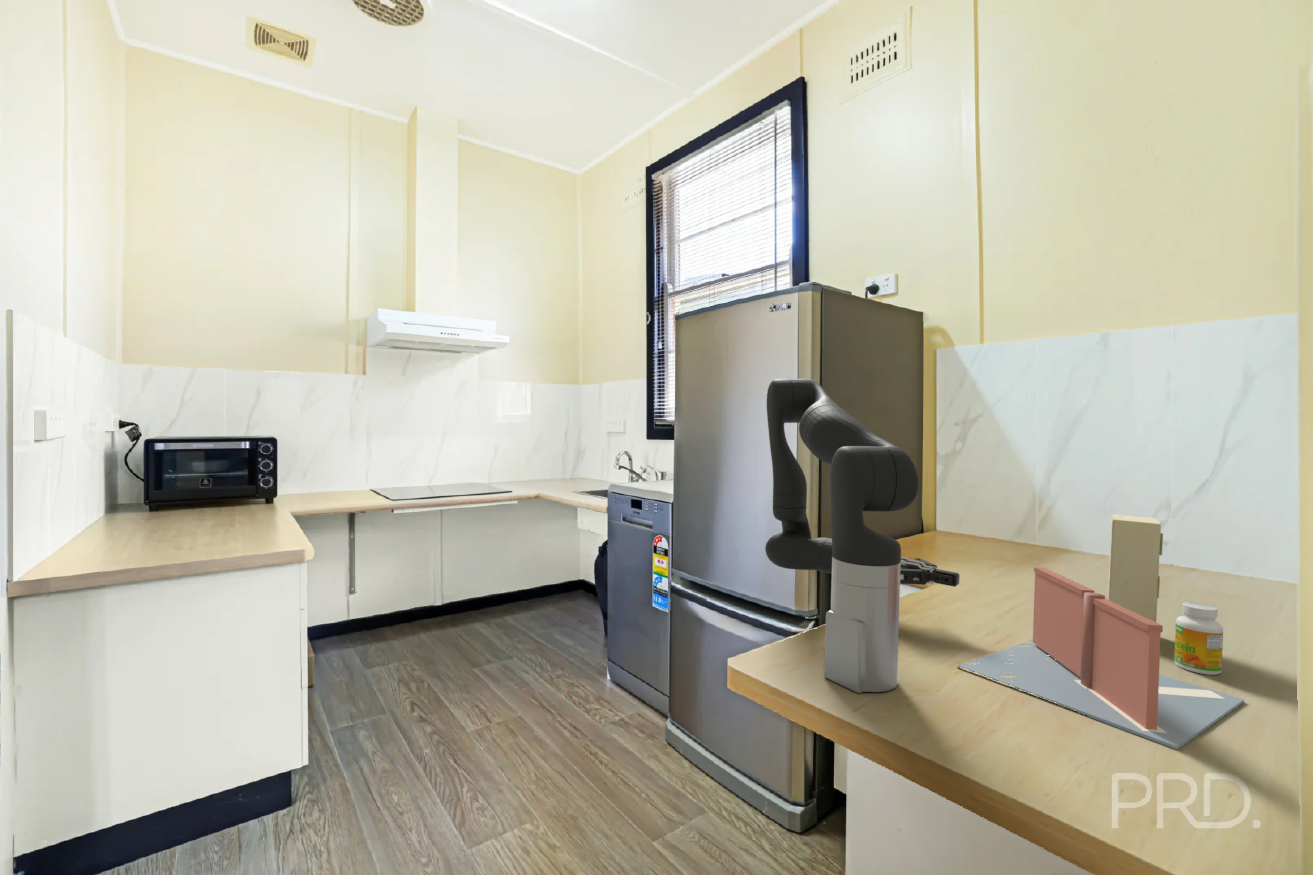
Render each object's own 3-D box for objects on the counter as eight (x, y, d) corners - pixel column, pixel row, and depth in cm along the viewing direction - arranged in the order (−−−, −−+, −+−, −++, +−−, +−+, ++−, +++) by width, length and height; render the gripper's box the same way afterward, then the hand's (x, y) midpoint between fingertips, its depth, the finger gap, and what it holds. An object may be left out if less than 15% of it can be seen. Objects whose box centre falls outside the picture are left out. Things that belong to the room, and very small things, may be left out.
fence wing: (1091, 678, 85) (1094, 590, 84) (1079, 677, 85) (1082, 589, 84) (1041, 642, 98) (1044, 567, 98) (1031, 642, 99) (1033, 567, 98)
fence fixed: (1162, 733, 71) (1166, 624, 71) (1140, 731, 71) (1144, 622, 71) (1095, 685, 84) (1098, 592, 84) (1076, 683, 85) (1080, 591, 84)
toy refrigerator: (1161, 648, 99) (1166, 523, 99) (1106, 638, 104) (1110, 518, 103) (1158, 635, 106) (1162, 518, 105) (1106, 626, 110) (1110, 513, 110)
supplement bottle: (1164, 661, 94) (1167, 600, 93) (1196, 661, 94) (1198, 600, 94) (1198, 675, 88) (1200, 611, 88) (1231, 675, 89) (1234, 611, 88)
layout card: (1177, 749, 67) (1177, 745, 67) (957, 667, 89) (957, 664, 89) (1244, 702, 80) (1244, 698, 80) (1036, 640, 102) (1036, 638, 102)
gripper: (848, 547, 111) (946, 565, 99) (877, 538, 120) (970, 552, 109) (846, 587, 111) (944, 609, 99) (875, 574, 121) (968, 593, 109)
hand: (958, 580), depth 104 cm, fingers closed
